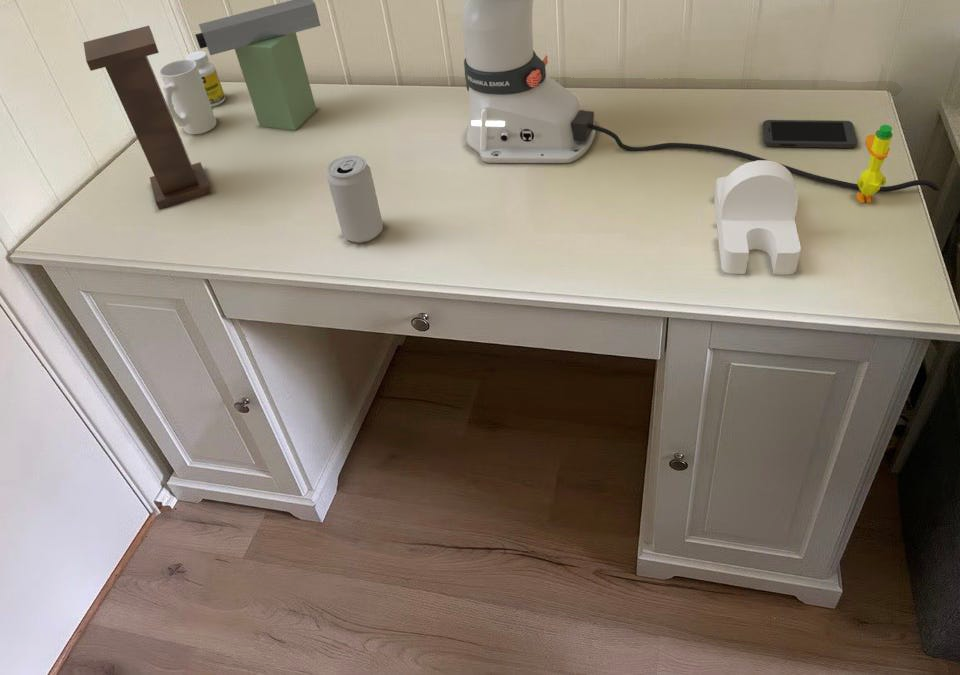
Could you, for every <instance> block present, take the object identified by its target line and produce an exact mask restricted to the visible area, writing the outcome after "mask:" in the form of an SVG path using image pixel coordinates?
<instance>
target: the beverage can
mask: <svg viewBox="0 0 960 675" xmlns="http://www.w3.org/2000/svg"><path fill="white" fill-rule="evenodd" d="M326 179H327V183H328V187H329V190H330V194H331V198H332V202H333V205H334V208H335V213H336V216H337V220H338V224H339V226H340V230H341V234H342V236H343V237H344V238H345V239H346V240H347V241H350V242H353V243H358V244H361V243H367V242H370V241H372V240H374V239H375V238H376V237H378V236H379V235H380V233H381V232H383V228H384V222H383V219H382V218H383V217H382V214H381V209H380V205H379V201H378V197H377V191H376V188H375V183H374V178H373V173H372V170H371V167H370V166H369V164H368V163H367V160H366V159H365V158H363V157H362V156H359V155H345V156H341V157H338V158H336V159H334V160H332V162H330V163H329V164H328V166H327V175H326Z"/></svg>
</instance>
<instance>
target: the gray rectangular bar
mask: <svg viewBox="0 0 960 675" xmlns="http://www.w3.org/2000/svg"><path fill="white" fill-rule="evenodd" d="M318 13H319V12H318V9H317V4H316V2H315V1H314V0H287V1H283V2H279V3H275V4H272V5H267V6H264V7H260V8H256V9H252V10H247V11H245V12H241V13H237V14H236V13H235V14H234V15H229V16H225V17H221V18H218V19H213V20H210V21H206V22H202V23H198V26H199V29H200V32H199V33H195V34H194V36H195V39H196V42H197V44H198V46H199V49H201V50H202V49H205V48H206V49H207V51H208V53H209V56H212V55H213V56H215V55H217V54H221V53H224V52H229V51H232V50H235V49H236V48H240V47H243V46H247V45H251V44H255V43H258V42H262V41H266V40H269V39H273V38H277V37H281V36H284V35H288V34H292V33H295V32H296V33H300V32H303V31H306V30H310V29H313V28H317V27H321V22H320V19H319V18H320V17H319V14H318Z"/></svg>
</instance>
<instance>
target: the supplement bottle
mask: <svg viewBox="0 0 960 675" xmlns="http://www.w3.org/2000/svg"><path fill="white" fill-rule="evenodd" d="M185 59H189V60H193V61H195V62H196V64H197V67H198V70H199V73H200V75H201V78H202V81H203V84H204V87H205V90H206V93H207V96H208V99H209V102H210V104H211V107H212V108H213V107H217V106H220V105H221V104H222V103H224V102H225V100H226V96H225V92H224V89H223V86H222V83H221V80H220V78H219V75H218V71H217V69H216V66H215V64H214V63H213V62H211V61H209V56H208V54H207V52H206V51H203V50H197V51H193V52H190V53H189V54H187V55H186V56H185Z"/></svg>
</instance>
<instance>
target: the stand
mask: <svg viewBox="0 0 960 675" xmlns="http://www.w3.org/2000/svg"><path fill="white" fill-rule="evenodd" d="M82 44H83V48H84V56H85V62H86V64H87V65H88V69H89V71H91V72H92V71H97V70H99V69H104V68H105V70H106V72H107V74H108V76H109V79H110V81H111V83H112V86H113V88H114V90H115V92H116V94H117V97H118V98H119V101H120V103H121V105H122V108H123V110H124V112H125V115H126V117H127V118H128V121H129V123H130V125H131V127H132V129H133V132H134V134H135V136H136V138H137V140H138V143H139V145H140V147H141V149H142V151H143V154H144V156H145V158H146V161H147V163H148V165H149V167H150V169H151V172H152V174H153V176H150V177H149V181H150V186H151V190H152V193H153V198H154V202H155V204H156V207H157V208H158V210H162V209H165V208H168V207H172V206H175V205H179V204H181V203H185V202H187V201H191V200H195V199H198V198H200V197H204V196H207V195H210V194H212V190H211V188H210V185H209V182H208V179H207V176H206V173H205V170H204V167H203V165H202V163H201V161H199V162H196V163H193V164H192V161H191V160H190V156H189V154H188V153H187V149H186V148H185V145H184V142H183V140H182V138H181V134H180V133H179V130H178V127H177V125H176V122H175V120H174V119H173V118H172V115H171V113H170V111H169V108H168V106H167V103H166V100H165V95H164V93H163V92H162V89H161V87H160V84H159V81H158V80H157V76H156V75H155V74H156V73H155V72H154V69H153V67H152V65H151V62H150V60H149V57H148V56H152V55H156V54H159V52H160V51H159V49H158V46H157V42H156V39H155V37H154V34H153V32H152V29H151V27H150V25H145V26H141V27H137V28H134V29H130V30H126V31H121V32H117V33H115V34H110V35H106V36H103V37H98V38H95V39H91V40H86V41H84V42H83V43H82Z"/></svg>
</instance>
